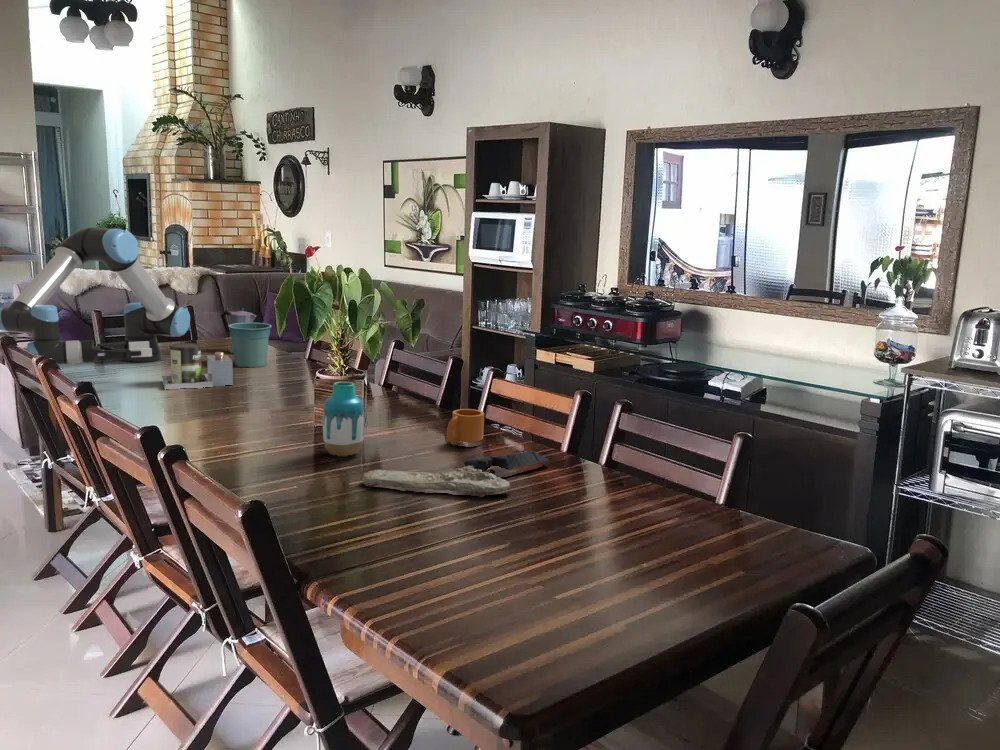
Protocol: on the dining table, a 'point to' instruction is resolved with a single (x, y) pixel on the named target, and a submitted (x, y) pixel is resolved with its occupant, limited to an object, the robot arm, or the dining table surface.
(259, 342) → the flower pot
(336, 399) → the vase
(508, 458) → the dark slate chunk
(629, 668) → the dining table surface
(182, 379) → the coffee can
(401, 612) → the dining table surface
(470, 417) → the mug
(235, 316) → the moka pot
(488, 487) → the long grey stone
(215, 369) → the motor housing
